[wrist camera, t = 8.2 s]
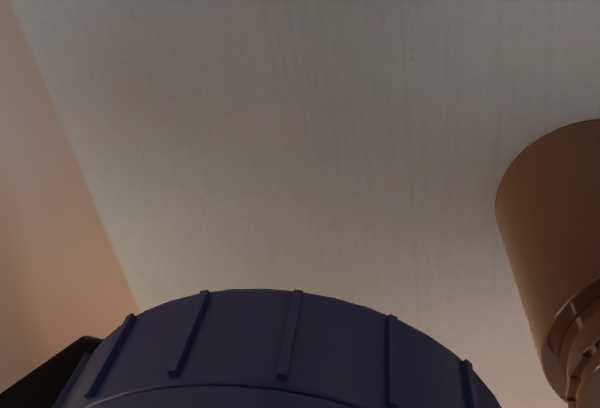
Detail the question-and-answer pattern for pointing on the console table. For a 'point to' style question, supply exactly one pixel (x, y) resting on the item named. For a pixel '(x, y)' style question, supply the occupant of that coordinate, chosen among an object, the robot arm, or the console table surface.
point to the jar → (558, 254)
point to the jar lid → (270, 358)
